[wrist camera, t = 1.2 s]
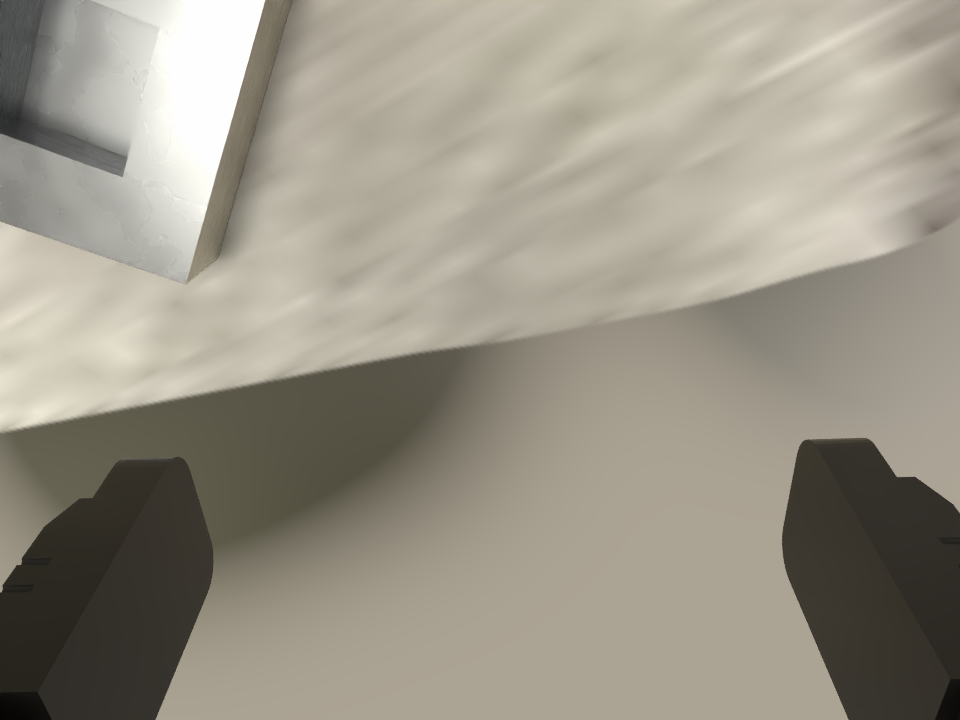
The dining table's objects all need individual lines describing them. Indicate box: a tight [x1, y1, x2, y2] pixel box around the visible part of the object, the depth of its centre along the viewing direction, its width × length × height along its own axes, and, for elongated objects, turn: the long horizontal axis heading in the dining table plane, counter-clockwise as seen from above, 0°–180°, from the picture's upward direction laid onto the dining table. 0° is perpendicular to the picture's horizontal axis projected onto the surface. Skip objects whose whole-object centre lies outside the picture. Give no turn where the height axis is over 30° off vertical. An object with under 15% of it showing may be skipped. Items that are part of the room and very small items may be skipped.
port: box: [0, 0, 292, 284], centre depth 31 cm, size 12×12×5 cm
